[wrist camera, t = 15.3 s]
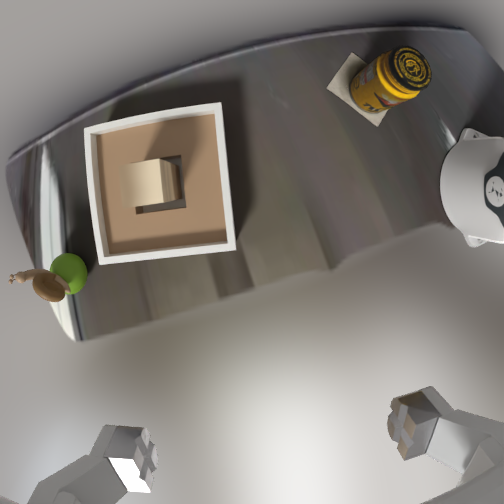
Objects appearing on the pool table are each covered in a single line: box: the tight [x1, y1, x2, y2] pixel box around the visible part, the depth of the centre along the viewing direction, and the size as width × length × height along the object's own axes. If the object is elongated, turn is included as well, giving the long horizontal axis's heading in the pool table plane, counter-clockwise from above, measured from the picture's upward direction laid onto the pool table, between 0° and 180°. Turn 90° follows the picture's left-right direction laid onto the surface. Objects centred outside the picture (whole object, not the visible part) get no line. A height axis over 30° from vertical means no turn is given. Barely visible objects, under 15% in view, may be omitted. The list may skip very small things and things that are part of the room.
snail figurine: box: [9, 253, 87, 302], centre depth 33 cm, size 5×6×12 cm
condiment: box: [327, 46, 432, 127], centre depth 30 cm, size 7×8×12 cm
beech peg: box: [118, 159, 182, 209], centre depth 31 cm, size 4×4×10 cm
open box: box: [84, 102, 236, 265], centre depth 34 cm, size 16×16×6 cm
